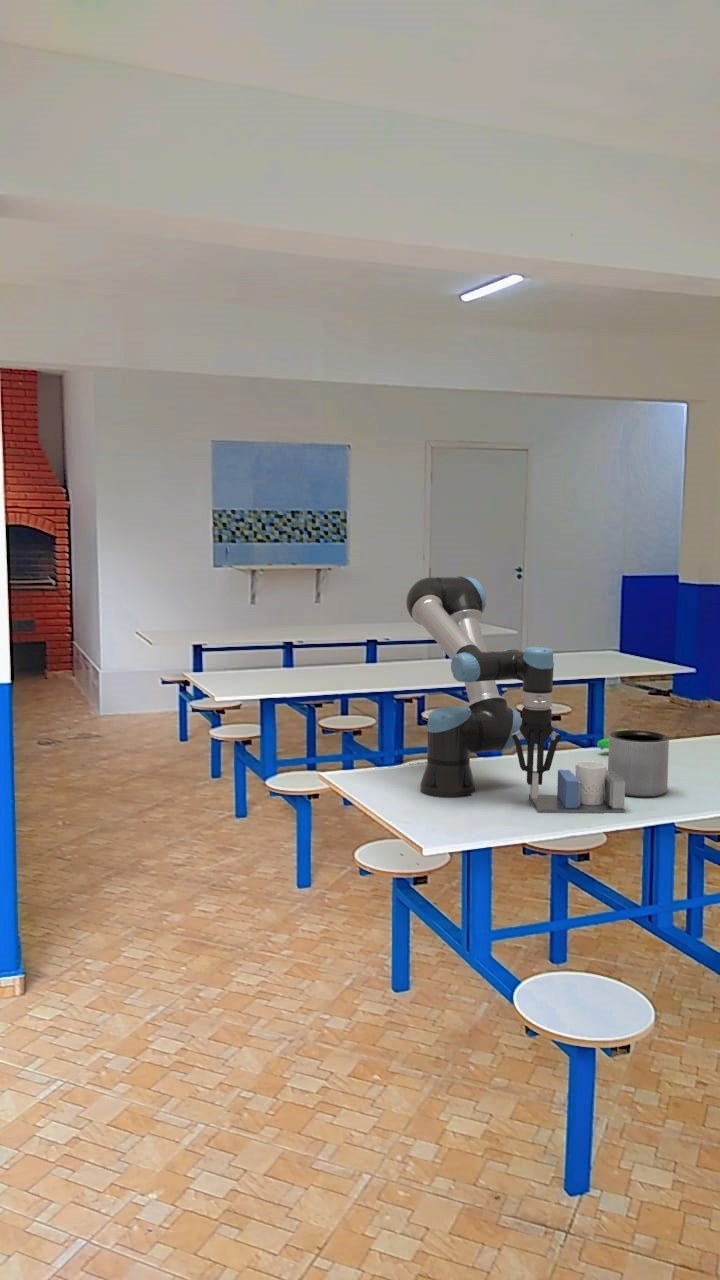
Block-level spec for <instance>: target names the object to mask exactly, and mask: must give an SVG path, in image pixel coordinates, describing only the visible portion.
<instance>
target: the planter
mask: <svg viewBox="0 0 720 1280" xmlns="http://www.w3.org/2000/svg"><path fill="white" fill-rule="evenodd" d="M608 739H609V749H608V759H607V760H608V761H607V770H614V771H615V772H616V773H617V774H618V775H619V776H620V777H621V778H622V779H623V780H624V781H625V797H626V796H627V797H634V798H652V797H653V798H655V797H660V796H662V795H663V794H665V793H666V792H667V790H668V784H669V781H668V780H669V778H668V777H669V749H670V748H669V747H670V745H669V744H670V742H669V741H670V737H669V736H668V735H665V734H664V733H659V732H656V731H655V732H654V731H649V730H640V729H639V730H637V729H634V730H633V729H626V730H622V731H617V730H615V731H613V732H610V733H609V738H608Z"/></svg>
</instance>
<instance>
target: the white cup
mask: <svg viewBox="0 0 720 1280" xmlns="http://www.w3.org/2000/svg"><path fill="white" fill-rule="evenodd" d="M607 769H608V764H606V763H603V762H601V761H592V760H590V761H589V760H584V761H583V760H582V761H578V762H576V763H575V777H576V778H577V779H578V780H579V782H580V804H584V805H600V804H603V798H604V791H605V780H606V770H607Z"/></svg>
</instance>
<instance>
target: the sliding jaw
mask: <svg viewBox="0 0 720 1280" xmlns="http://www.w3.org/2000/svg"><path fill="white" fill-rule="evenodd" d="M556 788H557V793H556V795H557V796H558V797H559V799H560V800H561V802H562V803H563V805H564V806H565V808H578V806H580V782H579V780H578V779H577V778H576V774H574V773H573V772H572V771H571V770H570V769H557V786H556Z"/></svg>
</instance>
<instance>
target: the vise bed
mask: <svg viewBox="0 0 720 1280" xmlns="http://www.w3.org/2000/svg"><path fill="white" fill-rule="evenodd" d="M528 796H529V797H528V799H529V800H530V802H531V804H532V805H533V807H534V810H535V811H536V812H537V813H538V814H599V815H600V814H603V815H604V813H625V814H626V809H625V808H624V809H612V808H611V806H609V805H608V804H607V803H606V801H605V800H604V799H603V804H600V805H584V804H580V806H578V808H565V806H564V805H563V803H562V802H561V800H560V799H559V797H558V796H557V794H538V798H532V797H531V796H530V794H529V795H528Z"/></svg>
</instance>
